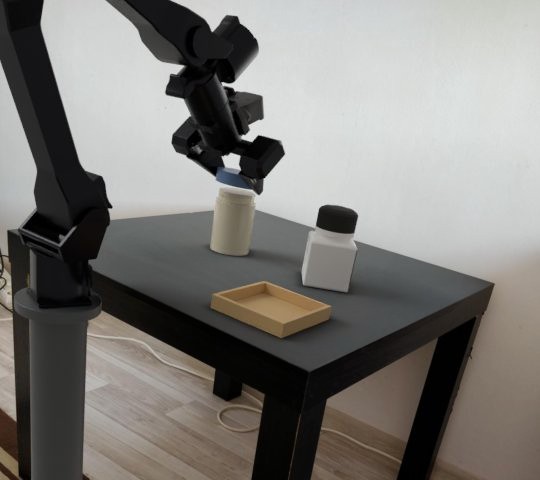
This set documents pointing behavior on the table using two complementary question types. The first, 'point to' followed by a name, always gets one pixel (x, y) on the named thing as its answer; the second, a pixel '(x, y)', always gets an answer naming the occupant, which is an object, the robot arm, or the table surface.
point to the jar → (233, 221)
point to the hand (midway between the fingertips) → (243, 187)
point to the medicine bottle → (331, 249)
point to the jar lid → (231, 177)
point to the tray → (271, 308)
